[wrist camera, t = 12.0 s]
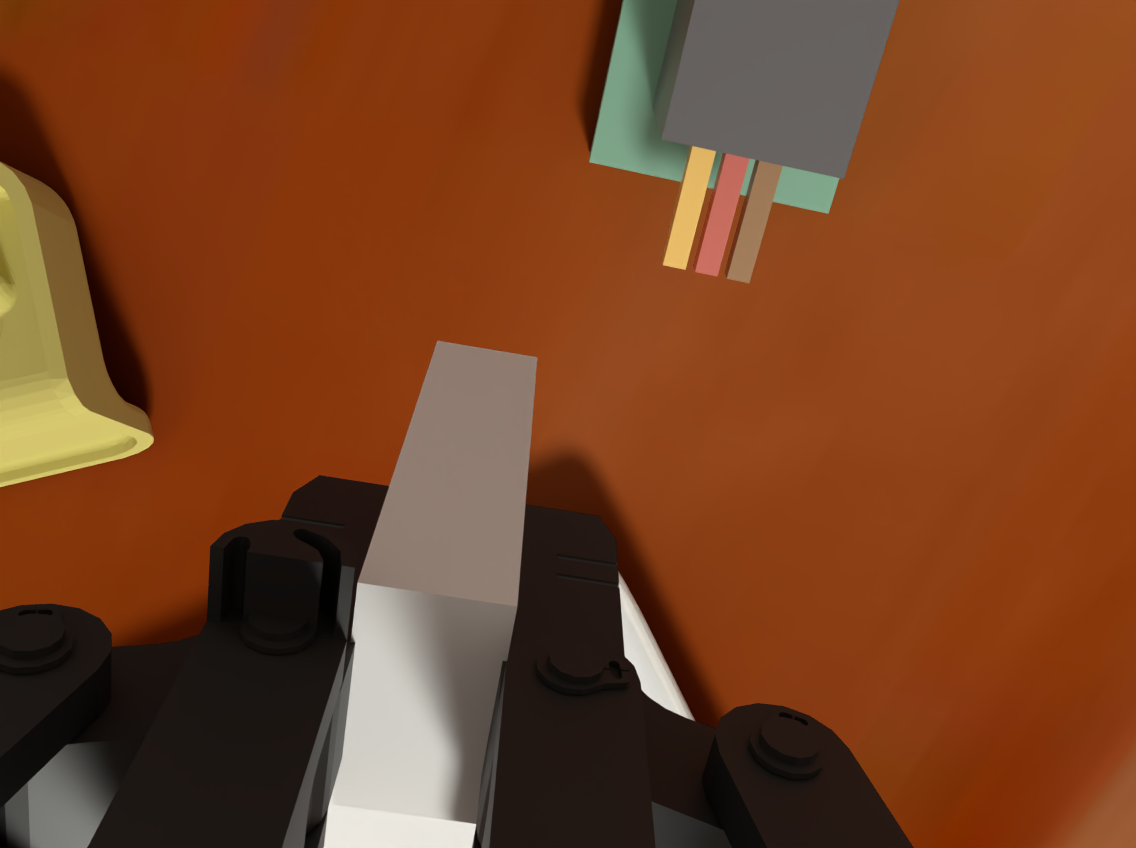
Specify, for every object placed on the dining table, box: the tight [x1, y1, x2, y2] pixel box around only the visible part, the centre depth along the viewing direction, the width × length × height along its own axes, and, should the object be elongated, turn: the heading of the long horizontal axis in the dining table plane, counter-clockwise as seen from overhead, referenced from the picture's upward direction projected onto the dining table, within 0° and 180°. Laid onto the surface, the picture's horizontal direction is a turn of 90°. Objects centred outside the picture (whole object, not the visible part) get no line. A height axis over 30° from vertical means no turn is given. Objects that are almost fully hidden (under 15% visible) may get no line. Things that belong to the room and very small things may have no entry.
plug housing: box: [652, 0, 899, 283], centre depth 30 cm, size 14×5×6 cm, turn 168°
